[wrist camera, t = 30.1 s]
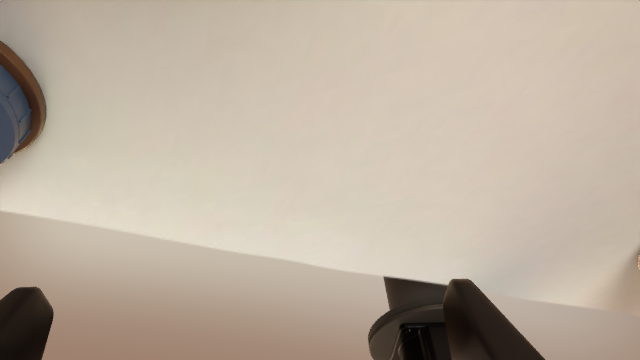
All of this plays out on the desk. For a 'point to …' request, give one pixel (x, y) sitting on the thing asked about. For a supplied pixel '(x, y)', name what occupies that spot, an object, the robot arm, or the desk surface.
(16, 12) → the desk surface
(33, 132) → the coaster
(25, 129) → the jar lid
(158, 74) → the desk surface
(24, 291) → the robot arm
